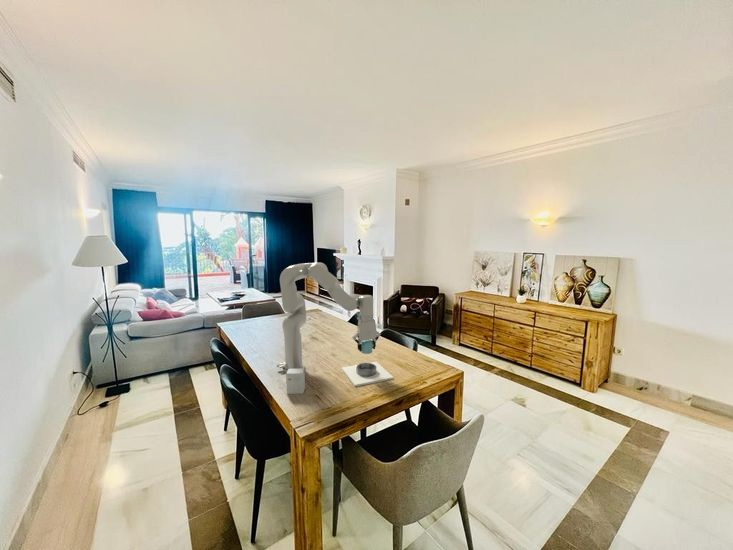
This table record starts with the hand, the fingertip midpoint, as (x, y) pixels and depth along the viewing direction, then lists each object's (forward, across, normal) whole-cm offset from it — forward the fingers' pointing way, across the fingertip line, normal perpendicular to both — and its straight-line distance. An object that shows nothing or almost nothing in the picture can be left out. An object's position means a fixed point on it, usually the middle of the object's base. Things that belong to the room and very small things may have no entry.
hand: (366, 349), depth 163 cm
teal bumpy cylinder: (+1, 0, 0) cm, 1 cm away
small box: (+14, -39, -4) cm, 42 cm away
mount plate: (+14, 0, 0) cm, 14 cm away
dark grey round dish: (+14, 0, 0) cm, 14 cm away
